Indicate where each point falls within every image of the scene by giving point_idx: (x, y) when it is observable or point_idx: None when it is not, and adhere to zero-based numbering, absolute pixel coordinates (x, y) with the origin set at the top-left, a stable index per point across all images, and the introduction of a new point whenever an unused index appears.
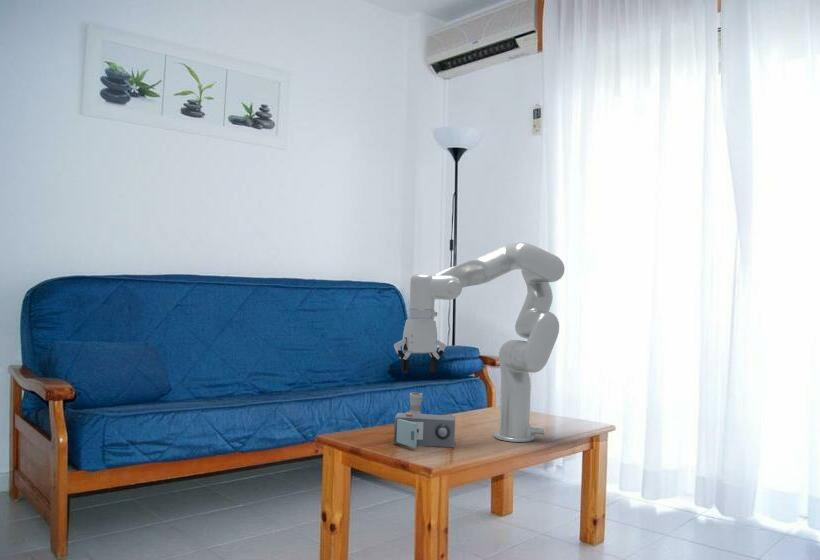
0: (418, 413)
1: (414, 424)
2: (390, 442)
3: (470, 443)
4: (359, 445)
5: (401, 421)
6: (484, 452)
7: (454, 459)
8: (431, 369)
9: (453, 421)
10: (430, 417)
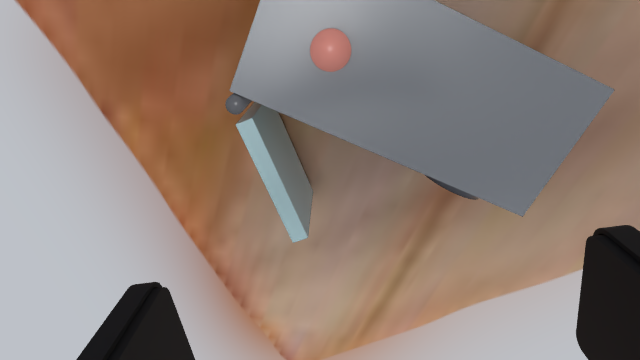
0: None
1: (292, 240)
2: None
3: None
4: (108, 68)
5: (252, 156)
6: (544, 247)
7: (393, 304)
8: (600, 296)
9: (513, 211)
10: (433, 123)
